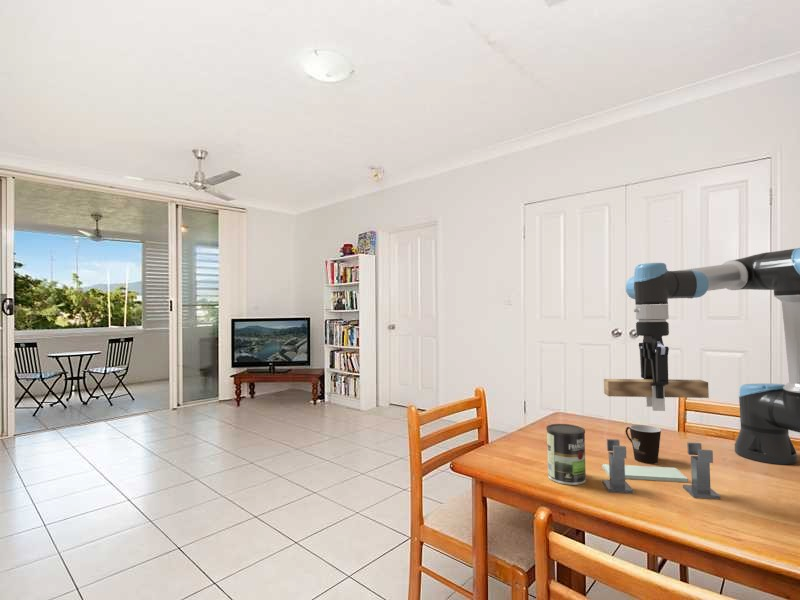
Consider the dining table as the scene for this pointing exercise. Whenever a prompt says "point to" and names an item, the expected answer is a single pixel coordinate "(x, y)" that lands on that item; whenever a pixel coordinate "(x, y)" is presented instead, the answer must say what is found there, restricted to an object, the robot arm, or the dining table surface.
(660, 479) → the mat
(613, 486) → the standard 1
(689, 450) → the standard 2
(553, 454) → the coffee can
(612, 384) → the rail
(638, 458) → the coffee mug
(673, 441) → the dining table surface
